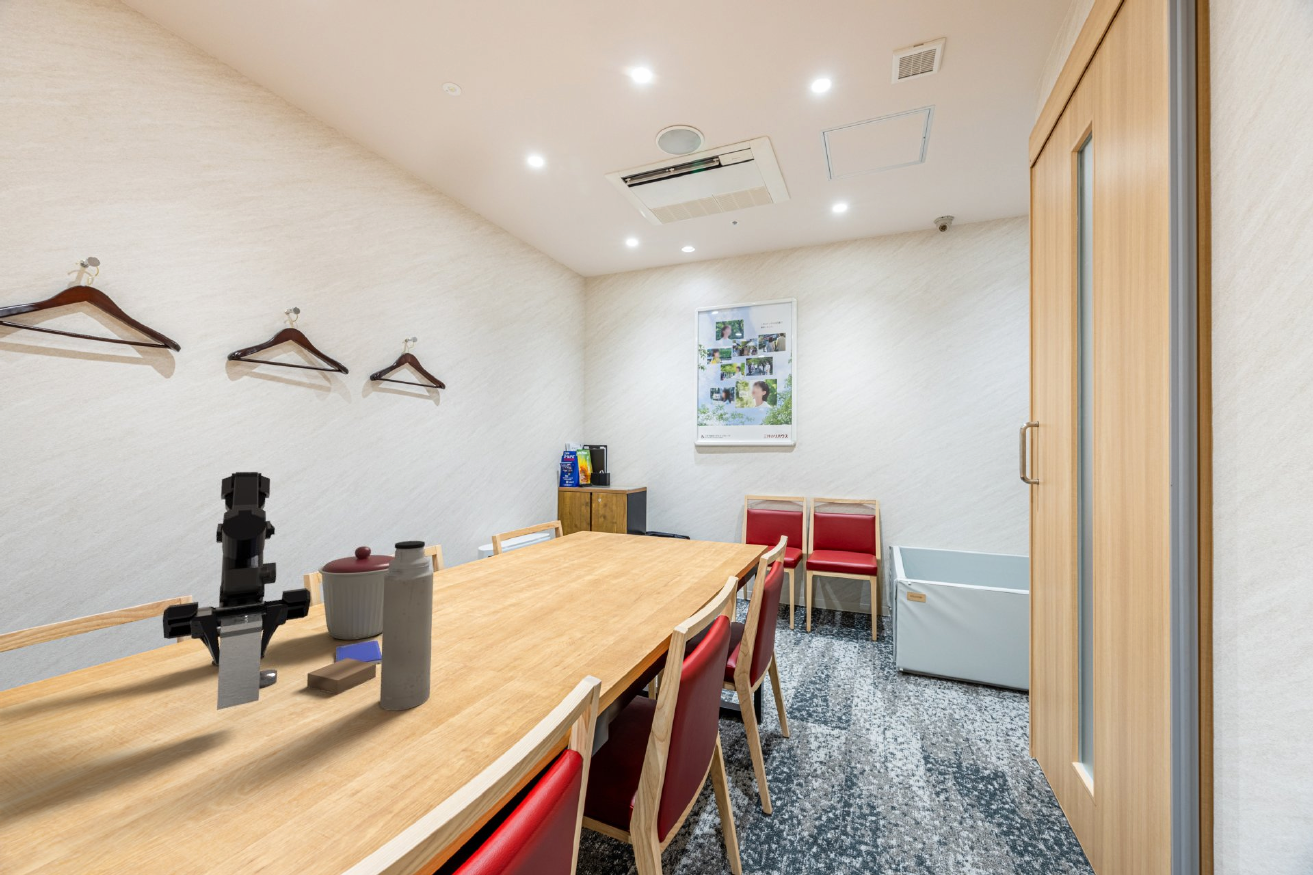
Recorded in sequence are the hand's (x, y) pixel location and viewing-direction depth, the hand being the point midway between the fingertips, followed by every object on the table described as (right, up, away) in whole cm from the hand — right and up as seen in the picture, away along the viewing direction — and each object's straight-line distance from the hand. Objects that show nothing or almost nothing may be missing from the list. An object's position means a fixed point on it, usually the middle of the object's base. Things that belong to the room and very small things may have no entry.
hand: (240, 659), depth 80 cm
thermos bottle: (+21, -12, +11) cm, 26 cm away
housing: (-1, -7, +1) cm, 7 cm away
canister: (-7, -13, +44) cm, 47 cm away
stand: (+5, -12, +18) cm, 22 cm away
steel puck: (-9, -12, +16) cm, 22 cm away
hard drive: (+1, -13, +30) cm, 33 cm away
